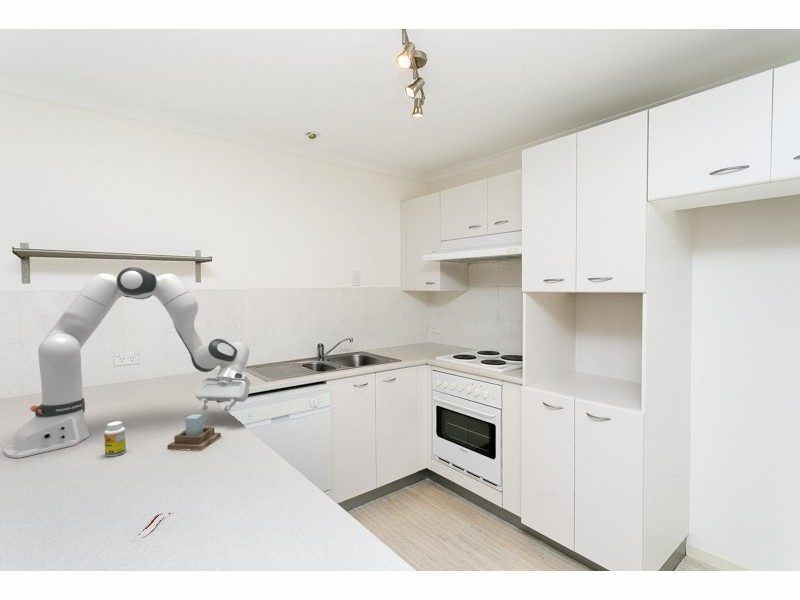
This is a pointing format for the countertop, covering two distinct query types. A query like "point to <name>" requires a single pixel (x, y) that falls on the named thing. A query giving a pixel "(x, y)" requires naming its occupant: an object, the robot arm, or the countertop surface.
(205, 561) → the countertop surface
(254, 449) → the countertop surface
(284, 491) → the countertop surface
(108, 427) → the supplement bottle
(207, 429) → the board
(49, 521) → the countertop surface
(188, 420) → the block
